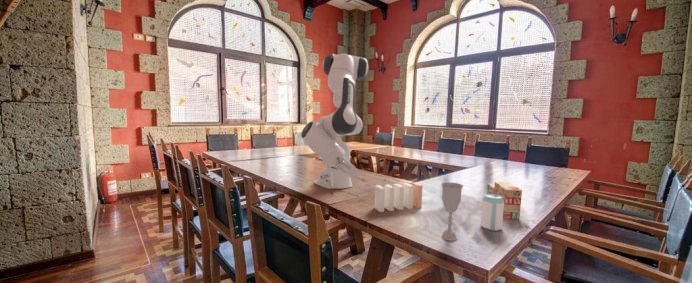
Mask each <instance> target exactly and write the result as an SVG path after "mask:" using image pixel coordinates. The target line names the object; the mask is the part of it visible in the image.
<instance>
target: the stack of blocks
mask: <svg viewBox="0 0 692 283" xmlns="http://www.w3.org/2000/svg"><path fill="white" fill-rule="evenodd" d="M486 185H487V186H486V194H496V195H500V196H502V199H503V201H504V210H503V220H520V217H521V205H522V197H523V195H522V194H523V190H522V189H521V188H519V186H516V185H515V184H513V183H511V182H509V181H508V182H506V181H504V182H502V181H494V183H487V184H486Z"/></svg>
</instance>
